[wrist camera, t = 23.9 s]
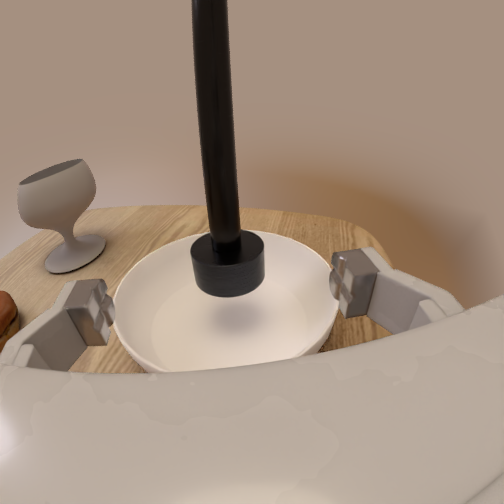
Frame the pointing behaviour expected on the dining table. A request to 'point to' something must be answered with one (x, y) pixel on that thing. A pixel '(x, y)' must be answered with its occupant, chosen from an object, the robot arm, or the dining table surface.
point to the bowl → (224, 310)
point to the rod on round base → (220, 165)
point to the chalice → (61, 211)
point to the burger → (7, 318)
